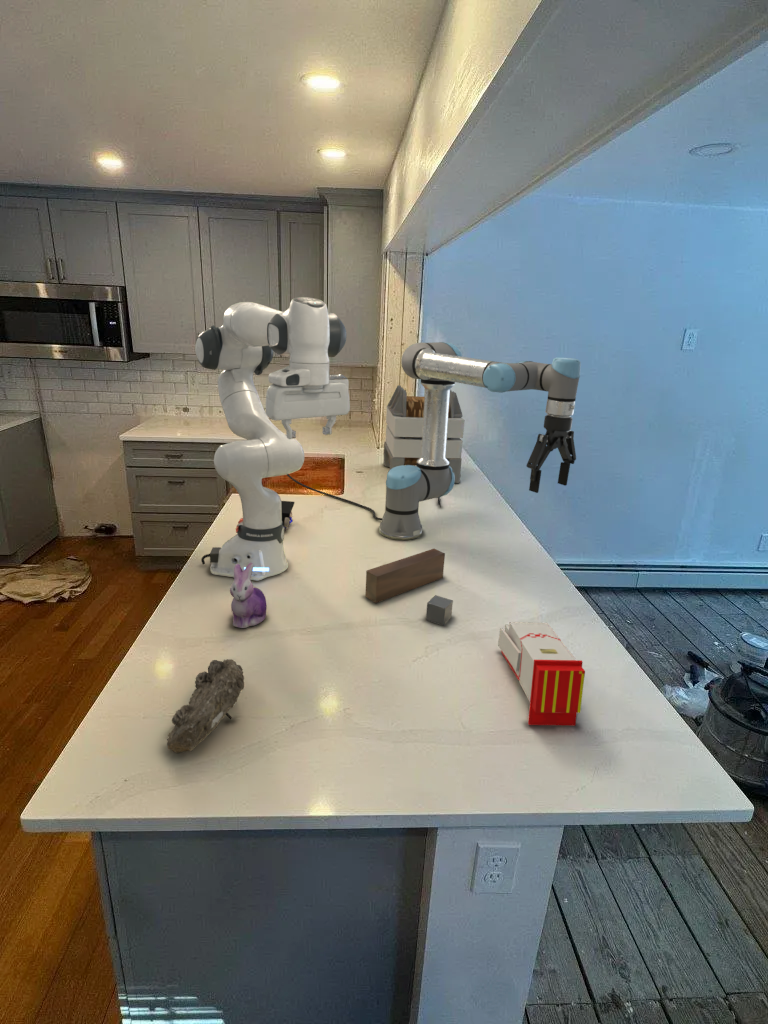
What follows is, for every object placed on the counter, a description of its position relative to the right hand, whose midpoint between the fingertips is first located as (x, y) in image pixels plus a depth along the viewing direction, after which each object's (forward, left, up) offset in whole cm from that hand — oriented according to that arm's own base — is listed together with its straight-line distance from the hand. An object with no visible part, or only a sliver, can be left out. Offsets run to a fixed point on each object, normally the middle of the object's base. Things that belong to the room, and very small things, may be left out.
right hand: (548, 487), depth 166 cm
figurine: (-27, -83, -27) cm, 92 cm away
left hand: (-21, -69, +19) cm, 75 cm away
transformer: (-100, +47, -27) cm, 114 cm away
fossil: (+1, -106, -27) cm, 109 cm away
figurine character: (-77, -43, -27) cm, 92 cm away
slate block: (+1, -44, -27) cm, 52 cm away
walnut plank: (-17, -39, -27) cm, 51 cm away
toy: (+32, -47, -27) cm, 64 cm away
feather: (-69, +28, -27) cm, 79 cm away
